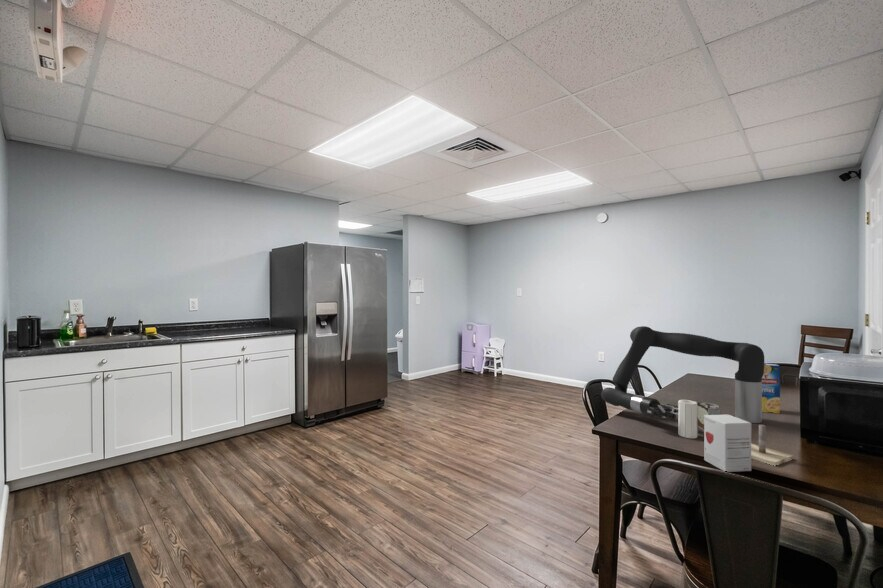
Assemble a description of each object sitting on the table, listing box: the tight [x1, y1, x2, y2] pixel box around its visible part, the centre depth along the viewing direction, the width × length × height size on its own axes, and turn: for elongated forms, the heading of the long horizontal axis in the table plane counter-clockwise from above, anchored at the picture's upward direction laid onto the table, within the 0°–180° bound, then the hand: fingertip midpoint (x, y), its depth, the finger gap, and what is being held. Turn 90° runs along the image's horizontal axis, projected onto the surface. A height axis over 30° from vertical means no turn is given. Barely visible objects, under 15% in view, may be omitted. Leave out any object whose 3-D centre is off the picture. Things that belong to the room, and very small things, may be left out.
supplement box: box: [703, 414, 752, 473], centre depth 124 cm, size 9×9×15 cm
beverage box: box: [762, 362, 781, 414], centre depth 184 cm, size 7×11×22 cm, turn 71°
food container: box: [695, 400, 721, 431], centre depth 157 cm, size 12×6×10 cm, turn 168°
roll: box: [677, 399, 698, 439], centre depth 150 cm, size 6×6×13 cm
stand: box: [751, 424, 794, 467], centre depth 131 cm, size 12×12×10 cm
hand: (682, 415), depth 152 cm, fingers open, 8 cm apart
